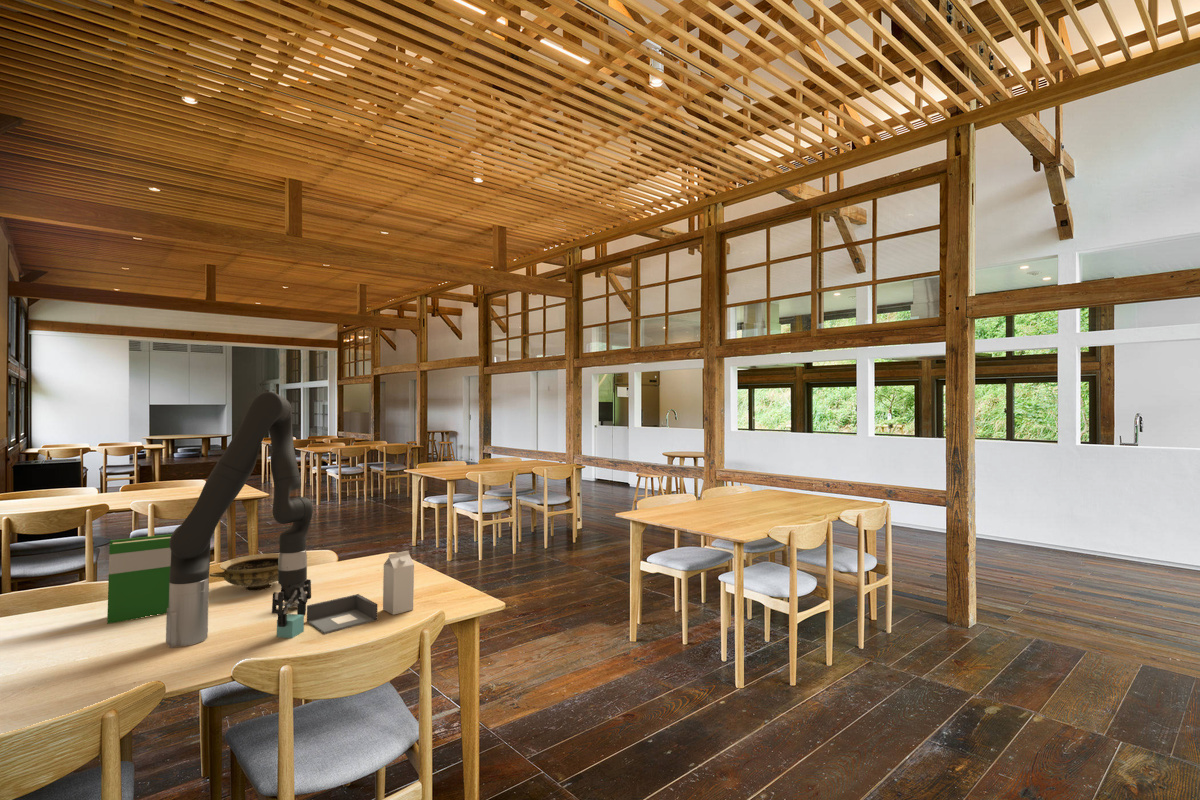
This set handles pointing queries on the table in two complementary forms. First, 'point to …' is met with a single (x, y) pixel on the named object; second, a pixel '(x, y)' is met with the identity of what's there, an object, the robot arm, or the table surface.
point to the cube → (291, 626)
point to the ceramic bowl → (251, 571)
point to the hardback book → (138, 577)
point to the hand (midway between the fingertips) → (292, 621)
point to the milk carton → (398, 583)
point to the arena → (341, 613)
